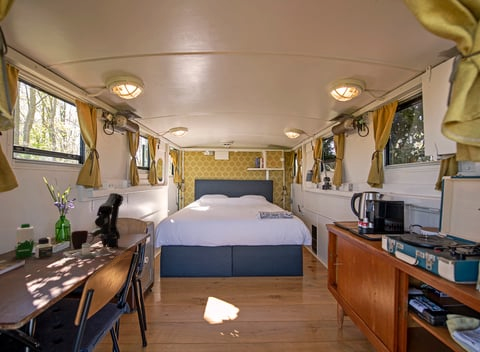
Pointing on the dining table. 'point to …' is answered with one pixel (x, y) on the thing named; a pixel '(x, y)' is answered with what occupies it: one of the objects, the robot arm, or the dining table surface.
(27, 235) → the milk carton
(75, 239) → the cup
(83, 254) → the cartridge
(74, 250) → the tray
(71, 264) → the dining table surface
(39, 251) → the medicine bottle
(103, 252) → the filter head
